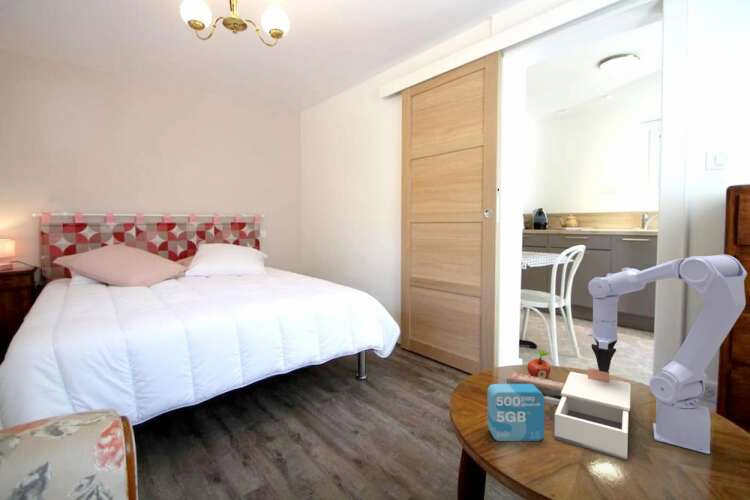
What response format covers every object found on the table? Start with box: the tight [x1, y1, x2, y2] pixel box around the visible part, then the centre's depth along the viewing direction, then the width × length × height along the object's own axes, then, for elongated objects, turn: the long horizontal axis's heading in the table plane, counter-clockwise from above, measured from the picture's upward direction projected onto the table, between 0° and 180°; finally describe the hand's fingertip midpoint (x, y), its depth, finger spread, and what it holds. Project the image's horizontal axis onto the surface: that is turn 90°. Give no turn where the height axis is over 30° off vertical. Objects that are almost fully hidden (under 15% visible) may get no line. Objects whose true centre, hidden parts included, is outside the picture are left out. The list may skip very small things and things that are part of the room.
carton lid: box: [561, 367, 632, 412], centre depth 93 cm, size 15×17×3 cm
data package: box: [486, 383, 545, 442], centre depth 84 cm, size 12×4×12 cm, turn 88°
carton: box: [554, 396, 629, 461], centre depth 85 cm, size 14×16×6 cm
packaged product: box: [506, 372, 565, 406], centre depth 106 cm, size 18×5×10 cm
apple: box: [526, 349, 551, 379], centre depth 114 cm, size 8×7×10 cm
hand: (604, 366), depth 99 cm, fingers open, 7 cm apart
